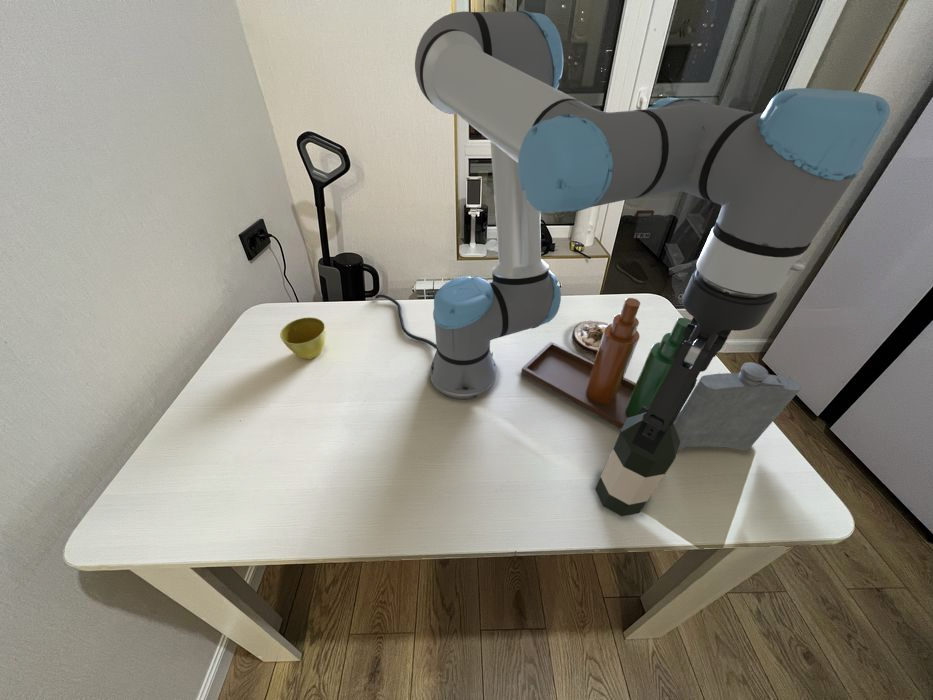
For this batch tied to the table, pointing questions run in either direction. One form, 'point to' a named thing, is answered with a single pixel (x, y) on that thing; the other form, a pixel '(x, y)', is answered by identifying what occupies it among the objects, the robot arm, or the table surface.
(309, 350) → the flower pot
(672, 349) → the green bottle
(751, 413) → the hip flask
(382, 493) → the table surface
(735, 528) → the table surface
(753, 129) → the robot arm
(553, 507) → the table surface
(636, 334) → the amber bottle
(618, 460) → the wine bottle
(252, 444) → the table surface
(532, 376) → the tray
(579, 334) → the bowl of food
